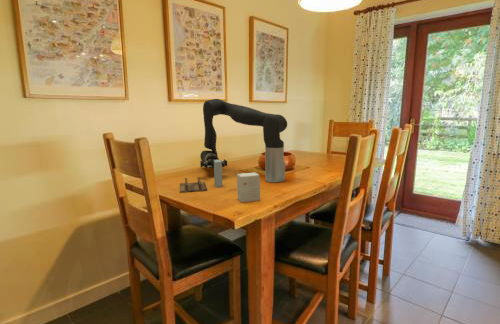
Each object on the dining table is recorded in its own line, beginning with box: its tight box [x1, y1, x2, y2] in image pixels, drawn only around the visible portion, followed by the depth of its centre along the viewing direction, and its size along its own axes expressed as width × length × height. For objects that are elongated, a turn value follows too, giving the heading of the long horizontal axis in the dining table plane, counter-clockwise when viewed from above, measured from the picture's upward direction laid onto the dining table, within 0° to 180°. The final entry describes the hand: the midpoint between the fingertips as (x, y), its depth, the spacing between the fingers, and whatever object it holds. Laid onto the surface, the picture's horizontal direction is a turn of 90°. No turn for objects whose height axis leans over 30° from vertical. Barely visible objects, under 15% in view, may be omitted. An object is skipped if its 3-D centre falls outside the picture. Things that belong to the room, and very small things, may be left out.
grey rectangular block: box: [213, 159, 223, 188], centre depth 139 cm, size 3×6×12 cm, turn 13°
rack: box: [179, 176, 208, 194], centre depth 136 cm, size 12×14×3 cm
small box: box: [236, 171, 261, 203], centre depth 116 cm, size 8×6×10 cm
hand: (215, 165), depth 149 cm, fingers open, 8 cm apart
